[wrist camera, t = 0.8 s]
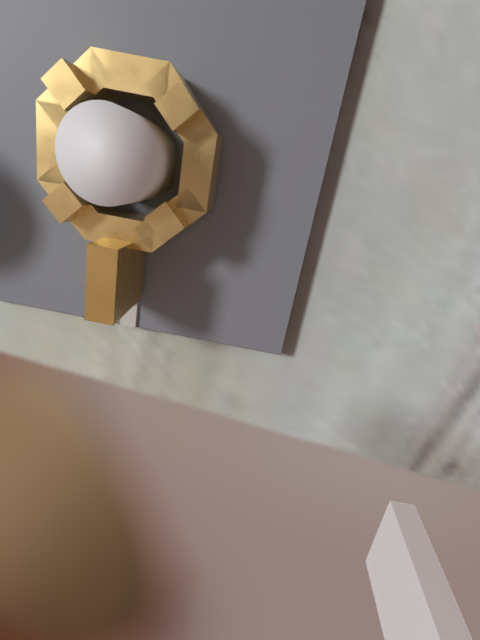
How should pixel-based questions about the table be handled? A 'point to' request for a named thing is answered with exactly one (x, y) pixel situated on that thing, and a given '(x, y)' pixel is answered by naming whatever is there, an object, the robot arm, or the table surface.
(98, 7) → the housing plate
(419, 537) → the robot arm
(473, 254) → the table surface
